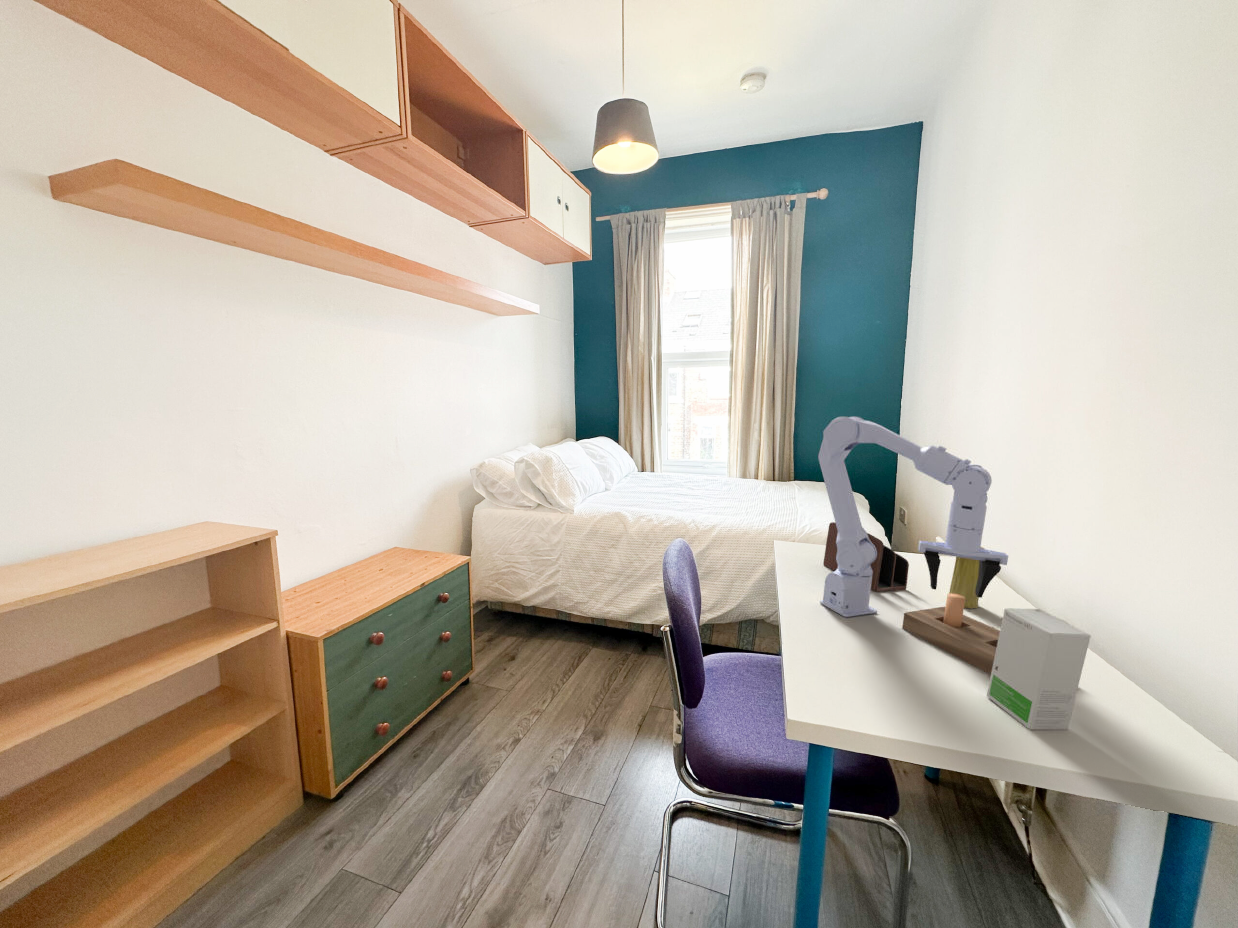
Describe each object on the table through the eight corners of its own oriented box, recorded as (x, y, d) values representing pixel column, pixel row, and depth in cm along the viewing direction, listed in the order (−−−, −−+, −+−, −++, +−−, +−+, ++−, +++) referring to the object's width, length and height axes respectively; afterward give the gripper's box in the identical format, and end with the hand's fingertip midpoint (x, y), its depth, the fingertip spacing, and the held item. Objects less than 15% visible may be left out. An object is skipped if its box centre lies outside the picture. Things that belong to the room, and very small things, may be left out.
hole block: (1017, 688, 82) (1020, 668, 81) (902, 628, 102) (904, 612, 102) (1061, 677, 86) (1064, 658, 85) (942, 621, 106) (944, 606, 106)
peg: (952, 642, 97) (958, 600, 96) (937, 635, 100) (944, 594, 98) (962, 640, 98) (968, 598, 97) (947, 633, 101) (953, 592, 99)
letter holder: (875, 592, 122) (881, 538, 120) (822, 565, 140) (827, 518, 138) (906, 590, 124) (913, 537, 122) (851, 563, 143) (856, 517, 141)
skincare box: (985, 696, 79) (1000, 606, 77) (1022, 696, 80) (1038, 607, 77) (1032, 732, 71) (1050, 632, 69) (1073, 731, 71) (1092, 632, 69)
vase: (984, 609, 114) (993, 551, 112) (958, 607, 114) (967, 549, 112) (966, 598, 120) (974, 543, 118) (941, 597, 120) (949, 541, 118)
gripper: (1004, 527, 96) (994, 592, 98) (920, 516, 102) (911, 578, 104) (1015, 536, 90) (1004, 605, 92) (924, 524, 96) (915, 589, 98)
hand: (955, 591), depth 98 cm, fingers open, 7 cm apart
